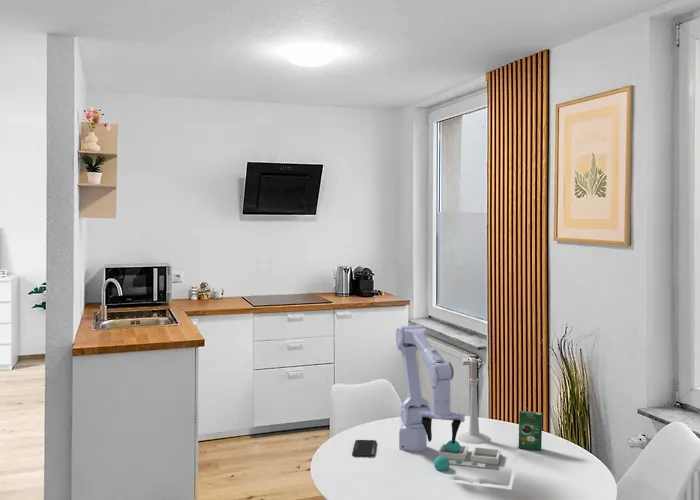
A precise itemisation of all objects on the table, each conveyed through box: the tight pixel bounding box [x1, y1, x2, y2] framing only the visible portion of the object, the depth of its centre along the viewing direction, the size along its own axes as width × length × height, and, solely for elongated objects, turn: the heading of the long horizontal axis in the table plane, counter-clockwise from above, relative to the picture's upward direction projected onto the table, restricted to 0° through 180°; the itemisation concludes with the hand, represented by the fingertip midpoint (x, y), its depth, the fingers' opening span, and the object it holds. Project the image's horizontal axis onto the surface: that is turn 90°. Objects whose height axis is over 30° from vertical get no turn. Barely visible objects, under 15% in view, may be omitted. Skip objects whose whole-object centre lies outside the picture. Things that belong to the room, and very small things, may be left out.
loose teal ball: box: [433, 455, 451, 472], centre depth 202 cm, size 5×5×5 cm
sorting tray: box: [435, 443, 503, 471], centre depth 210 cm, size 21×14×3 cm, turn 71°
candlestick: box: [457, 360, 492, 445], centre depth 230 cm, size 13×13×30 cm
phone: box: [351, 439, 378, 458], centre depth 223 cm, size 8×1×15 cm
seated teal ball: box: [445, 439, 461, 454], centre depth 214 cm, size 5×5×5 cm
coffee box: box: [518, 410, 543, 452], centre depth 222 cm, size 8×3×13 cm, turn 71°
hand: (441, 441), depth 202 cm, fingers open, 7 cm apart
